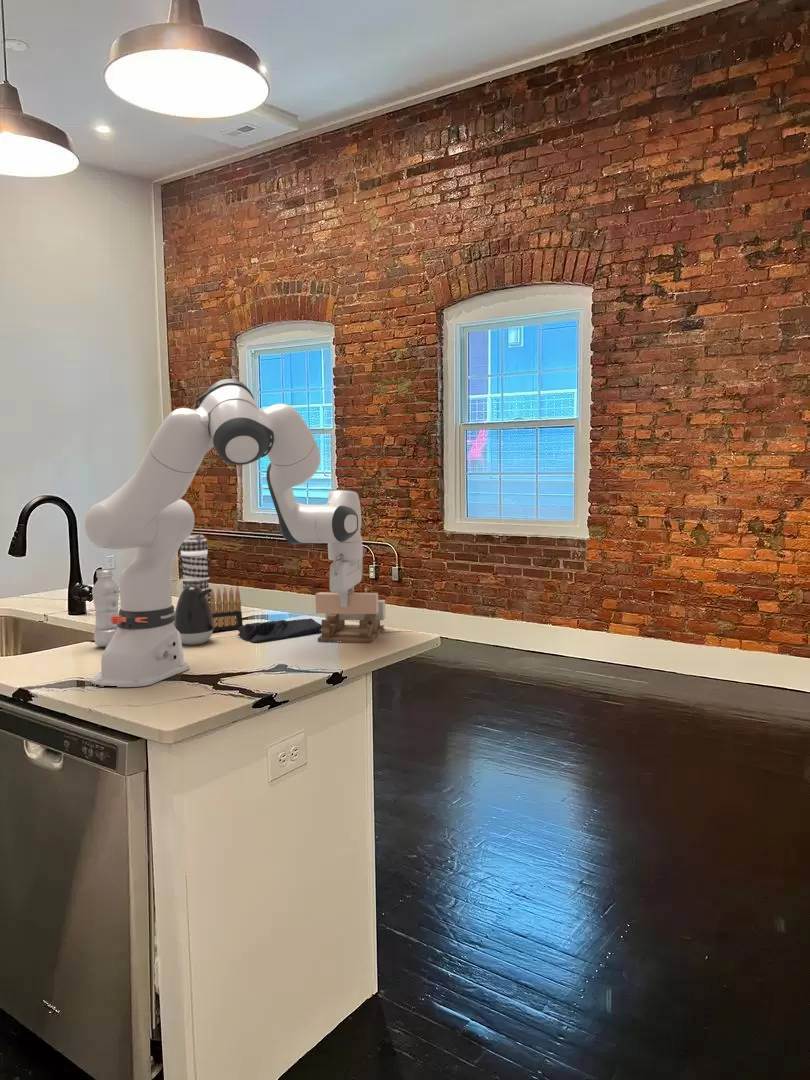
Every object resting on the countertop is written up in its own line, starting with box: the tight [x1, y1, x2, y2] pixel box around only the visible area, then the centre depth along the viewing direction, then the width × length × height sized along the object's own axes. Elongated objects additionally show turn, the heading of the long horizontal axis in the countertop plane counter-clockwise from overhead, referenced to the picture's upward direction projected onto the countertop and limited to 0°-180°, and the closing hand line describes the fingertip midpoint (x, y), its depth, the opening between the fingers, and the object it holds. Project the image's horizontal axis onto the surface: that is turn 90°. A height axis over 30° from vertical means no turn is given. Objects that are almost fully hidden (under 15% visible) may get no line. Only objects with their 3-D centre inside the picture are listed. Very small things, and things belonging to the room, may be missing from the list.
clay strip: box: [314, 591, 379, 614], centre depth 206 cm, size 16×3×5 cm, turn 80°
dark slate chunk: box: [237, 618, 322, 644], centre depth 216 cm, size 15×22×5 cm
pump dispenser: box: [173, 585, 214, 646], centre depth 206 cm, size 10×10×15 cm
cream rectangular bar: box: [324, 599, 387, 621], centre depth 216 cm, size 16×3×5 cm, turn 80°
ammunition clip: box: [205, 586, 244, 632], centre depth 222 cm, size 11×2×12 cm, turn 113°
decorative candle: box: [178, 534, 211, 605], centre depth 242 cm, size 9×9×25 cm
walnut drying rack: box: [317, 614, 385, 644], centre depth 212 cm, size 17×14×6 cm
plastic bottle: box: [91, 568, 120, 648], centre depth 204 cm, size 6×7×20 cm
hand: (346, 605), depth 206 cm, fingers closed on clay strip, 3 cm apart
